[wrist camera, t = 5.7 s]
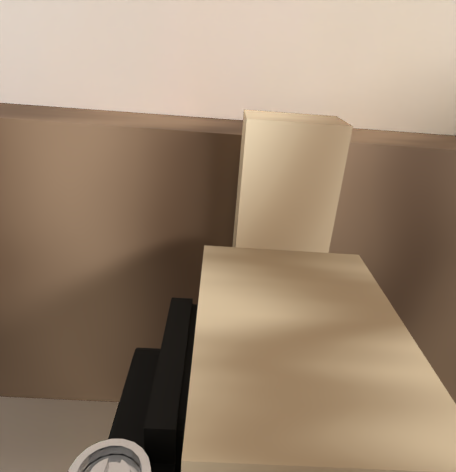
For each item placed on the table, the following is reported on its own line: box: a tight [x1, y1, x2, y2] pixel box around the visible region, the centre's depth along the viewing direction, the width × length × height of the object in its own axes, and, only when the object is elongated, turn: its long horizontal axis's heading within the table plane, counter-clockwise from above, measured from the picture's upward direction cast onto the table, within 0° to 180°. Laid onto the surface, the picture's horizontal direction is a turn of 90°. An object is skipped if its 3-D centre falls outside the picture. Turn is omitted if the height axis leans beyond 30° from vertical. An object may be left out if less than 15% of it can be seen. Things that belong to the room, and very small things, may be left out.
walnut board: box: [0, 103, 456, 404], centre depth 14 cm, size 23×10×3 cm, turn 86°
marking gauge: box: [181, 110, 456, 472], centre depth 11 cm, size 4×14×10 cm, turn 176°
